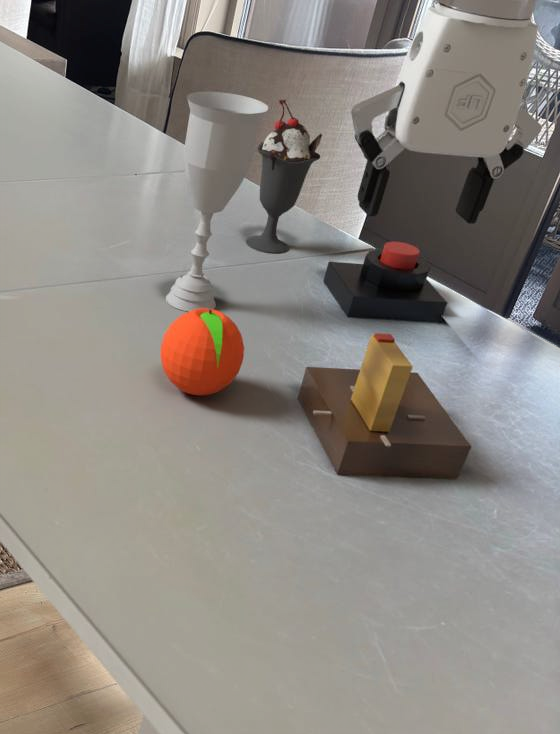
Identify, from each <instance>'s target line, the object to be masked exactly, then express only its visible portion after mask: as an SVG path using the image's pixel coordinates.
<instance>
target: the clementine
mask: <svg viewBox="0 0 560 734" xmlns="http://www.w3.org/2000/svg"><path fill="white" fill-rule="evenodd" d="M243 339H244V338H243V335H242V333H241V331H240V329H239V328H238V325H236V323H235V322H234V321H233V320H232V319H231V318H230V317H229V316H228V315H226V313H223V312H221V311H219V310H216V309H207V308H200V309H195V310H192V311H190V312H188V311H186V312H184V313H183V314H181V315H180V316H179V317H177V318H176V319H175V320H174V321H172V322H171V323H170V325H169V327H168V328H167V330H166V331H165V333H164V335H163V338H162V341H161V345H160V361H161V366H162V370H163V372H164V374H165V375H166V377H167V378H168V380H169V382H170V383H171V384H173V386H175V387H176V388H177V389H178V390H180V391H182V392H184V393H186V394H188V395H192V396H193V395H194V396H209V395H212V394H215V393H218V392H220V391H222V390H223V389H225V388H226V387H228V386H229V385H230V384H231V383H232V382H233V381H234V379H236V377H237V375H238V374H239V372H240V371H241V367H242V365H243V361H244V355H245V345H244V340H243Z"/></svg>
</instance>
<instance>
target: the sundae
mask: <svg viewBox="0 0 560 734" xmlns="http://www.w3.org/2000/svg"><path fill="white" fill-rule="evenodd" d="M286 101H287V100H286V99H279V100H278V103H279V104H280V105H281V107H282V113H281V117H280V119H279V120H278V121H276V122H275V123H274V130H273V131H271V133H269V134H268V135H267V136H266V137H265V139H264V141H262V142H260V143H259V144H258V146H257V149H256V151H257V152H258V153H259V154H260V155H261V173H260V181H259V182H260V183H259V202H260V204H261V205H262V208H263V209H264V210H265V212H267V220H266V224H265V226H264V229H263V231H262V233H261V234H259V235H253V236H249V237H247V238H246V240H245V243H246V245H247V246H248V247H249V248H251V249H252V250H255V251H258V252H262V253H265V254H283V253H286V252H288V250H289V249H290V248H289V245H288V244H287V243H286V242H285V241H284V240H281V239H279V238H278V235H277V227H278V223H279V219H280V217H281V216H282V215H283V214H285V213H287V212H289V211H290V210H291V209H292V208H293V207H295V205H296V203H297V200H298V199H299V196H300V193H301V191H302V189H303V185H304V183H305V180H306V177H307V175H308V172H309V170H310V168H311V166H312V164H313V163H314V162H316V161H318V160H320V158H321V154H319V153H318V152H316V150H317V149H318V147H319V145H320V143H321V141H322V137H323V134H322V133H319V134H318V135H317V136H316V137H315V138H314V139H313V140H312V141H311V135H310V133H309V131H308V130H307V128H306V127H305V125H303V124H301V123H300V121H299V119H298V118H297V117H294V116H293V114H292V112H291V111H290V109H289V106H288V104H287V103H286ZM284 105H285V106H284ZM285 107H286V109H287V112H288V114H289V116H290V118H289V119H288V121H287V123H286V122H285V120H283V119H284V117H285Z"/></svg>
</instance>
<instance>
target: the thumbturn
mask: <svg viewBox="0 0 560 734" xmlns="http://www.w3.org/2000/svg"><path fill="white" fill-rule="evenodd" d="M359 370H360V372H359V375H358V378H357V381H356V384H355V388H354V391H353V394H352V397H351V400H352V402H353V404H354V405H355V407H356V408H357V410H358V412H359V413H360V415H361V417H362V418H363V420H364V422H365V423H366V425H367V426H368V428H369V430H370V431H382V432H389V431H390V429H391V426H392V423H393V420H394V417H395V415H396V412H397V409H398V406H399V403H400V401H401V398H402V395H403V392H404V390H405V387H406V384H407V381H408V378H409V376H410V373H411V372H412V370H413V364H412V363H411V361H410V360H409V359H408V358H407V356H406V355H405V354H404V353H403V351H402V350H401V348H400V347H399V346H398V344H397V343H396V341H395V338H394V337H393V335H392V334H391V333H382V332H381V333H380V332H379V333H378V332H374V334H372V335H370V337H369V341H368V344H367V347H366V351H365V353H364V356H363V360H362V363H361V366H360V369H359Z"/></svg>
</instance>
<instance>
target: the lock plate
mask: <svg viewBox="0 0 560 734" xmlns="http://www.w3.org/2000/svg"><path fill="white" fill-rule="evenodd" d="M359 372H360V369H359V368H357V369H356V368H341V367H339V368H338V367H320V366H319V367H318V366H306V367H305V370H304V373H303V378H302V381H301V384H300V387H299V392H298V395H297V400H298V403H299V404H300V406H301V408H302V410H303V412H304V414H305V416H306V418H307V420H308V421H309V423H310V425H311V427H312V429H313V431H314V433H315V435H316V437H317V439H318V441H319V442H320V444H321V446H322V448H323V450H324V452H325V454H326V456H327V457H328V459H329V462H330V464H331V465H332V467H333V469H334V472H335V474H336V475H339V476H341V475H342V476H363V477H366V476H367V477H390V478H391V477H393V478H394V477H395V478H416V479H417V478H419V479H443V480H445V479H446V480H458V479H459V477H460V474H461V473H462V469H463V468H464V465H465V463H466V461H467V458H468V456H469V454H470V451H471V449H472V445H471V444H470V442H469V441H468V439H467V438H466V436H465V435H464V434H463V433H462V431H461V430H460V428H458V426H457V424H455V423H456V422H454V421H453V419H452V418H451V417H450V414H448V412H447V411H446V409H445V408H444V407H443V405H442V404H441V402H439V400H438V398H436V396H435V395H434V393H433V392H432V390H431V389H430V388H429V386H428V385H427V384H426V382H425V381H424V379H423V378H422V377H421V375H420V374H419V373H418V372H412V371H411V373H410V376H409V378H408V381H407V384H406V387H405V390H404V392H403V395H402V398H401V401H400V403H399V406H398V409H397V412H396V415H395V417H394V420H393V423H392V426H391V429H390V431H389V432H382V431H370V430H369V428H368V426H367V425H366V423H365V422H364V420H363V418H362V417H361V415H360V413H359V412H358V410H357V408H356V407H355V405H354V404H353V402H352V400H351V397H352V394H353V391H354V388H355V384H356V381H357V378H358V375H359Z"/></svg>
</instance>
